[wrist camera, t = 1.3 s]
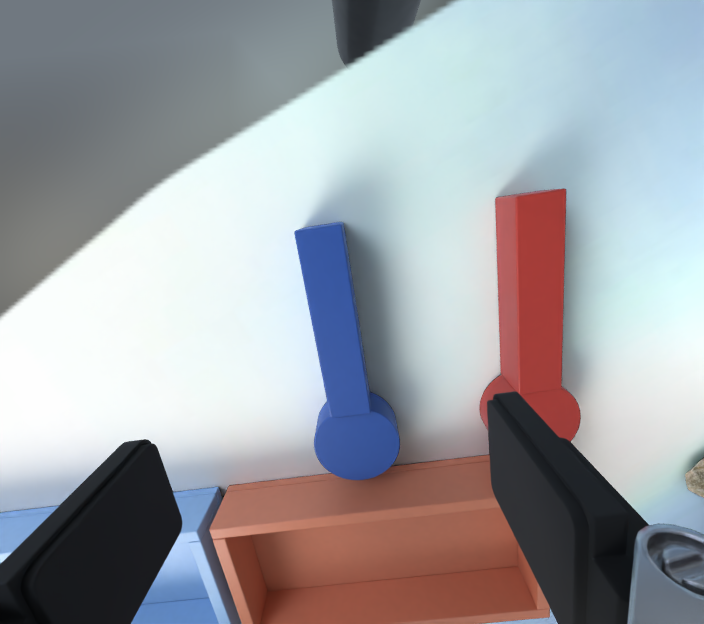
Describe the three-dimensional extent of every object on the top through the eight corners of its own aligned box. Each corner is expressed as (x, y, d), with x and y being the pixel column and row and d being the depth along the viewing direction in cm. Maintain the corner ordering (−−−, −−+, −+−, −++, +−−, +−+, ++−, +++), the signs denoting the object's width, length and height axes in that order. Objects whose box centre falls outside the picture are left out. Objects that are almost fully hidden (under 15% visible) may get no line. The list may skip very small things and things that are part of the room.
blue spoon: (368, 217, 16) (370, 218, 14) (400, 452, 20) (405, 481, 18) (276, 231, 16) (265, 235, 14) (325, 461, 20) (321, 491, 18)
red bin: (228, 485, 21) (208, 529, 18) (524, 450, 20) (552, 491, 17) (261, 591, 23) (248, 645, 20) (525, 565, 22) (550, 617, 20)
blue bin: (-51, 518, 22) (-113, 565, 19) (218, 486, 21) (197, 531, 18) (10, 617, 24) (-36, 672, 21) (253, 592, 23) (239, 646, 21)
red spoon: (566, 186, 16) (598, 183, 14) (560, 433, 20) (584, 460, 17) (468, 201, 16) (485, 201, 14) (481, 442, 20) (496, 470, 18)
